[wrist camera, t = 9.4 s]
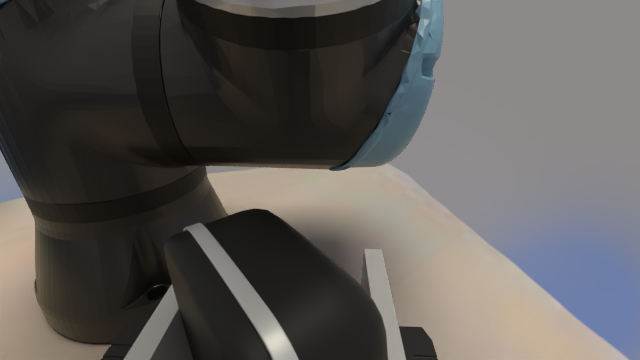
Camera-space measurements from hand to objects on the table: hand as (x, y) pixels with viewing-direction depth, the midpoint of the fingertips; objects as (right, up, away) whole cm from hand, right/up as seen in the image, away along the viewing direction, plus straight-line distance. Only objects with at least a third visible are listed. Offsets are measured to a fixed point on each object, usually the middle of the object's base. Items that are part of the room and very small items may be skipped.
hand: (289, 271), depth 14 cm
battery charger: (0, -8, -1) cm, 8 cm away
